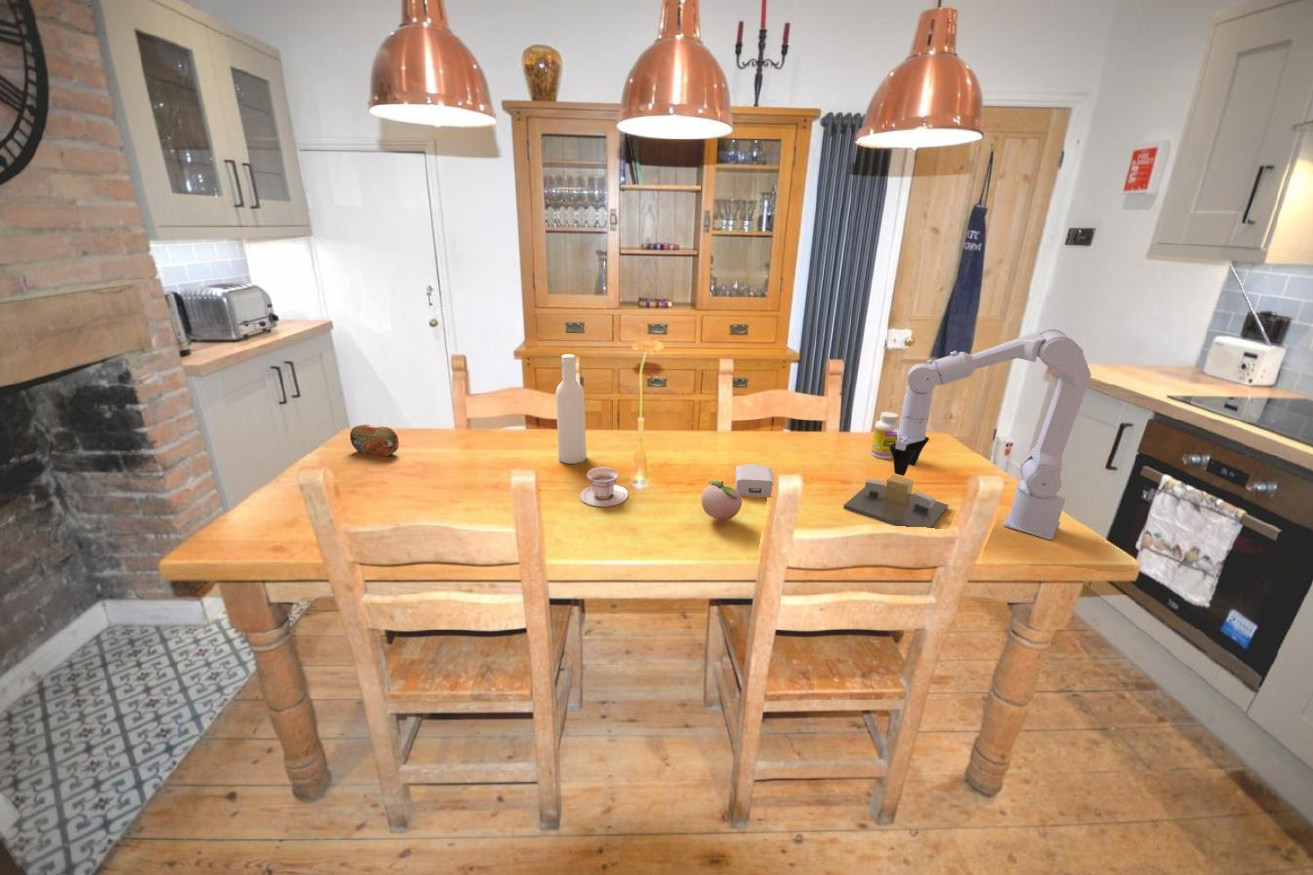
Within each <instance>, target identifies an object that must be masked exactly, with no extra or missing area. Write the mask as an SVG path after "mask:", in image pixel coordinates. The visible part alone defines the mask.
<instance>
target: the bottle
mask: <svg viewBox="0 0 1313 875" xmlns="http://www.w3.org/2000/svg"><path fill="white" fill-rule="evenodd" d="M560 363H561V371H562V372H561V373H562V380H561V382H560V383H559V384H558V385H557V388H556V391H555V405H556V406H555V407H556V408H555V409H556V427H557V453H558V460H559V461H560V462H561V463H563V464H568V465H570V464H572V465H574V464H579V463H583V462H584V461H586V459H587V444H586V437H587V436H586V413H585V412H586V408H585V406H586V405H585V392H584V388H583V386H582V384H581V383H580V382H578V380H577V373H576V372H577V370H576V363H577V361H576V355H575V354H563V355H561V361H560Z"/></svg>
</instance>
